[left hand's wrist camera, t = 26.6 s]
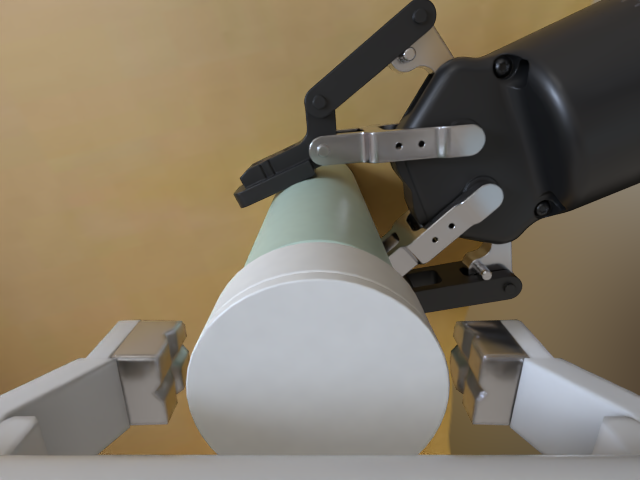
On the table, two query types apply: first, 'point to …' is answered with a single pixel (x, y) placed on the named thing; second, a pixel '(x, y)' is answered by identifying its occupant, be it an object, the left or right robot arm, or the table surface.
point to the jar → (320, 215)
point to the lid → (317, 359)
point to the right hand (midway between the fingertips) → (269, 247)
